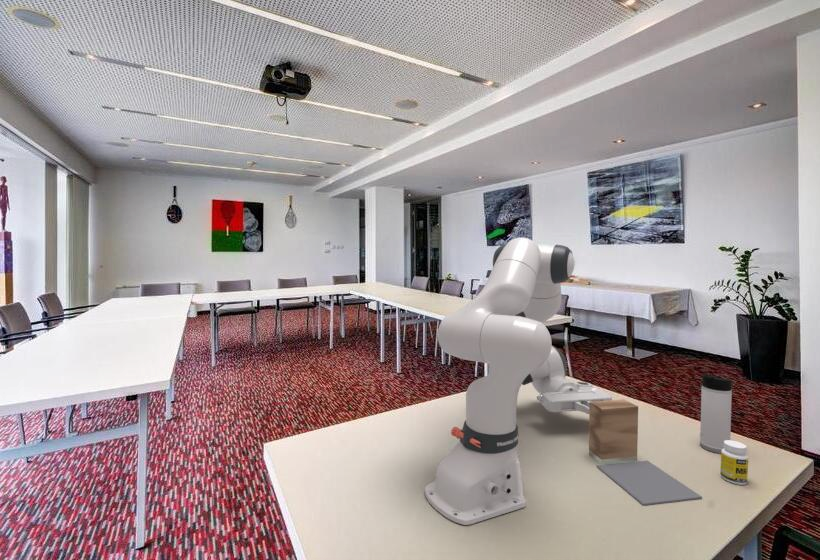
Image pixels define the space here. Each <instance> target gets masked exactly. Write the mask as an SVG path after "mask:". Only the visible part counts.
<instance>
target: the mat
mask: <svg viewBox="0 0 820 560" xmlns="http://www.w3.org/2000/svg"><path fill="white" fill-rule="evenodd" d="M596 468H597V469H598V470H600V471H601V472H602V473H603V474H605V475H606V476H607V477H608V478H610V479H611V481H613V482H614V483H615V484H616V485H618V486H619V487H620V488H621V489H623V491H625V492H626V493H628V494H629V495H630V496H631V497H632V498H633V499H634V500H636V501H637V502H638V503H639V504H640V505H642V506H643V507H644V506H651V505H662V504H669V503H670V504H671V503H676V502H685V501H694V500H702V499H703V496H701V495H700V494H699V493H697V492H695V491H694V490H693V489H691V487H690V488H689V487H688V486H686V485H685V484H684V483H682V482H680V481H678V479H676V478H674V477H673V476H671V475H670V474H668V473H667V472H665V471H664V470H662V469H661V468H659V467H658V466H657V465H655V464H653V463H652V462H650V461H649V460H648V459H647V460H637V461H630V462H619V463H609V464H597V465H596Z"/></svg>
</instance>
